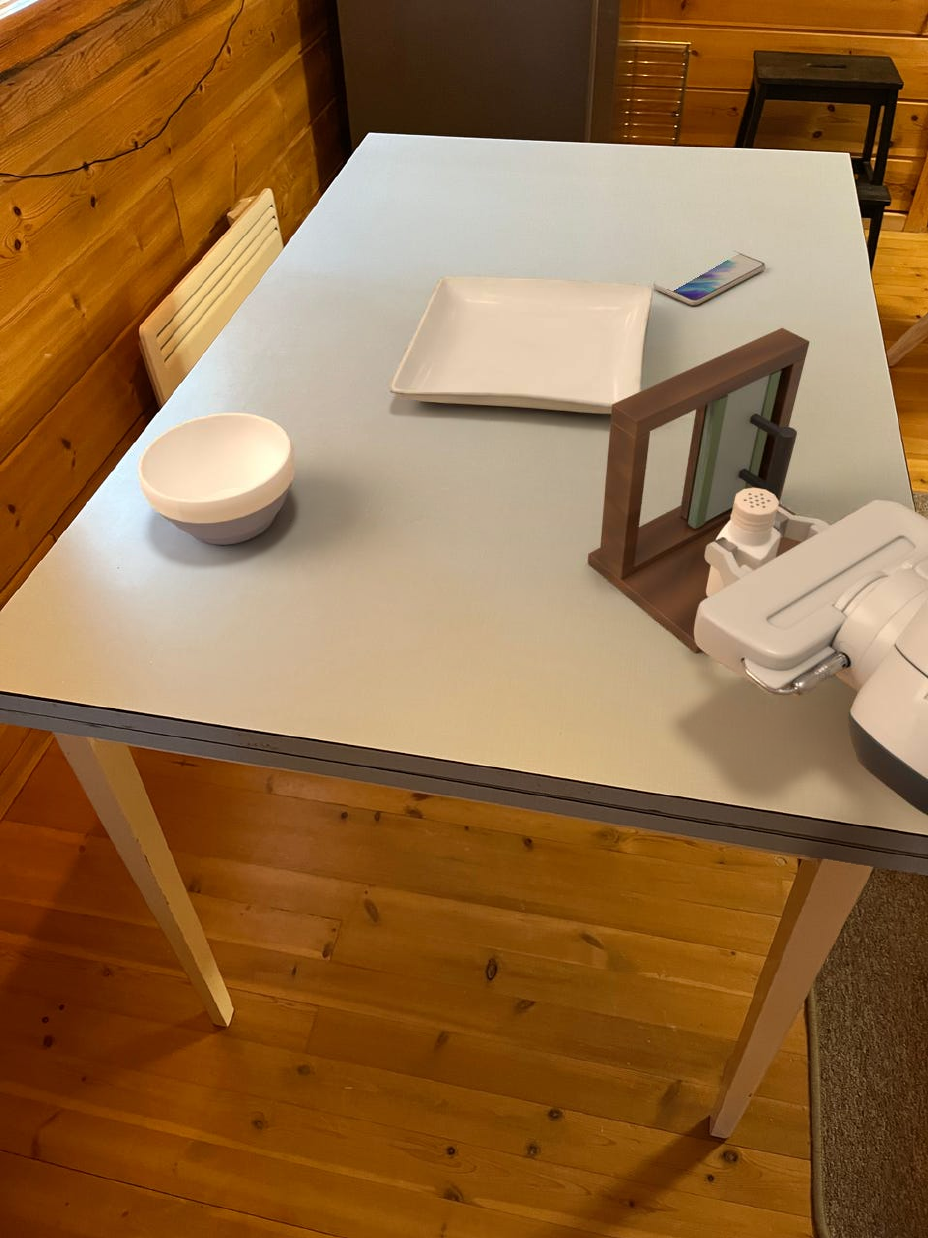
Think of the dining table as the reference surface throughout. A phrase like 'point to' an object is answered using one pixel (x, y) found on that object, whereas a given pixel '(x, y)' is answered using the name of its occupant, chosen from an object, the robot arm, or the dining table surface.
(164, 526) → the dining table surface
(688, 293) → the smartphone
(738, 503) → the salt shaker
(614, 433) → the window frame
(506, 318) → the square plate
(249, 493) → the bowl
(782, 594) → the robot arm
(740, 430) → the window sash
